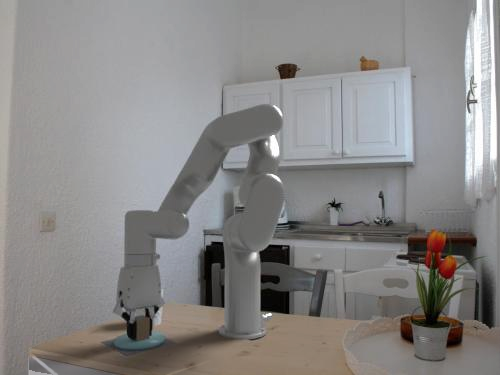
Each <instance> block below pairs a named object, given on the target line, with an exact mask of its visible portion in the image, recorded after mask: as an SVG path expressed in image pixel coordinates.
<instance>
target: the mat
mask: <svg viewBox="0 0 500 375" xmlns="http://www.w3.org/2000/svg"><path fill="white" fill-rule="evenodd" d="M114 339H115V338H113V339H108V340H104V341H103V340H102V341H101V343H102V344H104V345H105V346H107V347H110V348H111V349H113V350H115V351H117V352H118V353H120V354H122V355H124V356H126V357H129V356H132V355H137V354H139V353H140V354H141V353H144V352H147V351H148V352H149V351H152V350H155V349H159V348H162V347H166V346H170V345H174V344H177V342H176V341H174V340H171V339H168V338H167V337H165V341H164V343H163V344H161V345H159V346H157V347H154V348H150V349H144V350H122V349H118V348H116V347H115V346H114Z"/></svg>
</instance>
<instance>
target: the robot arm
mask: <svg viewBox="0 0 500 375" xmlns="http://www.w3.org/2000/svg"><path fill="white" fill-rule="evenodd" d="M283 124H284V116H283V113H282V111H281V110H280V108H279V107H277V106H276V105H274V104H271V103H262V104H257V105H255V106H251V107H248V108H245V109H241V110H237V111H234V112H230V113H226V114H222V115H220V116H218V117H216V118H215V119H213V120H211V121H210V122H209V123H208V124H207V126H205V128H203V131H202V133H201V134H200V137H199V138H198V140H197V142H196V143H195V146H194V147H193V149H192V151H191V153H190V154H189V155H188V158H187V160H186V162H185V164H184V165H183V166H182V168H181V170H180V172H179V173H178V175H177V176H176V179H175V180H174V182H173V184H172V185H171V187H170V189H169V191H168V192H167V194H166V195H165V197H164V199H163V201H162V202H161V205H160V206H159V207H158V210H157V211H153V210H149V209H148V210H147V209H146V210H145V209H138V210H137V209H136V210H134V209H133V210H129V211H126V212H125V215H124V242H123V243H124V245H123V246H124V247H123V248H124V252H123V253H124V254H123V256H124V257H123V259H124V260H123V266H121V267H120V271H119V273H118V280H117V287H116V288H117V289H116V298H115V300H116V301H115V302H116V303H115V305H114V307H113V310H112V313H113V314H114V315H117V316H120V318H122V319H123V320H124V321H125V322H126V334H127V336H128V338H130V339H132V340H136V323H135V317H136V309H141V308H144V312H145V316H146V317H149V318H150V336H151V335H152V331H153V327H154V326H153V319H154V317H155V314H156V313H157V311H158V310H159V309H160V308H161V307H162V306H163V307H164V306H165V305H166V302H165V299H164V297H163V298H162V296H161V288H162V282H161V274H160V269H159V265H158V264H157V261H158V260H160V259H161V255H160V254H159V253H157V239H162V240H171V241H172V240H178V239H181V238H183V237H184V236H185V235H186V234H187V233H188V231H189V229H190V221H189V218H188V216H187V215H188V213H189V211H190V210H191V208H192V206H193V204H195V202H196V200H197V199H198V198H199V197H200V196H201V195H202V194H203V193H204V192H206V191H207V189H208V188H210V186H211V185H212V184H213V182H214V180H215V178H216V177H217V175H218V172H219V171H220V169H221V168H222V167H221V166H222V165H223V163H224V161H225V159H226V158H227V156H228V154H229V152H230V150H231V149H234V148H236V147H240V146H243V145H244V146H245V145H247V146H248V150H249V155H248V156H249V157H248V161H247V165H246V168H245V171H244V173H243V177H242V179H241V182H240V185H239V189H238V194H237V198H238V201H239V202H240V204H241V205H242V206H243V207H244V208H243V212H240V213H235V214H233V215H231V216H230V217H229V218H228V219H227V220H226V221H225V223H224V225H223V228H222V244H223V251H224V252H223V253H224V324H223V325H221V326H219V328H218V334H219V335H220V336H223V337H225V338H228V339H229V338H230V339H237V340H254V339H255V340H256V339H260V338H262V337H263V336H266V334H267V327H266V326H265V325H264V324H265V322H269V321H272V320H273V314H272V313H271V312H268V313H264V314H263V313H261V258H260V257H261V255H260V252H261V251H264V250H265V249H266V248H268V247H269V245H270V244H271V243H272V240H273V238H274V237H275V233H276V229H277V227H278V223H279V219H280V217H281V213H282V210H283V207H284V204H285V203H284V202H285V198H286V191H285V186H284V183H283V182H282V180H281V179H280V178H279V176H277V175H278V170H279V167H280V162H281V150H280V147H279V144H278V141H277V139H276V137H275V135H277V134H279V132H280V131H281V130H282V127H283ZM163 307H162V308H163ZM123 308H124V310H125V311H124V310H123Z"/></svg>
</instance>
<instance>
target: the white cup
mask: <svg viewBox="0 0 500 375" xmlns="http://www.w3.org/2000/svg"><path fill="white" fill-rule="evenodd" d="M161 296H162V298H163V299H164V288H163V287H161ZM163 307H164V305H163V306H162V307H161V308H160V309H159V310H158V311H157V313H156V314H155V317H154V319H153V327H155V326H158V325H160V324H162V315H163ZM141 315H144V316H145V312H144V308H141V309H136V313H135V317H136V316H141Z"/></svg>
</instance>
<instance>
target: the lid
mask: <svg viewBox="0 0 500 375" xmlns="http://www.w3.org/2000/svg"><path fill="white" fill-rule="evenodd" d="M135 323H136V340H132V339H130V338H128V336H127V333H124V334H121V335H119V336H116V337H115V338H113V339H114V346H115V347H116V348H118V349H122V350H144V349H150V348H154V347H157V346H159V345H161V344H163V343H164V341H165V338H166V336H165V335H164V333H162V332H160V331H159V332H157V331H153V330H152V335H151V336H150V318H149V317H146V316H144V315H141V316H136V315H135Z"/></svg>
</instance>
